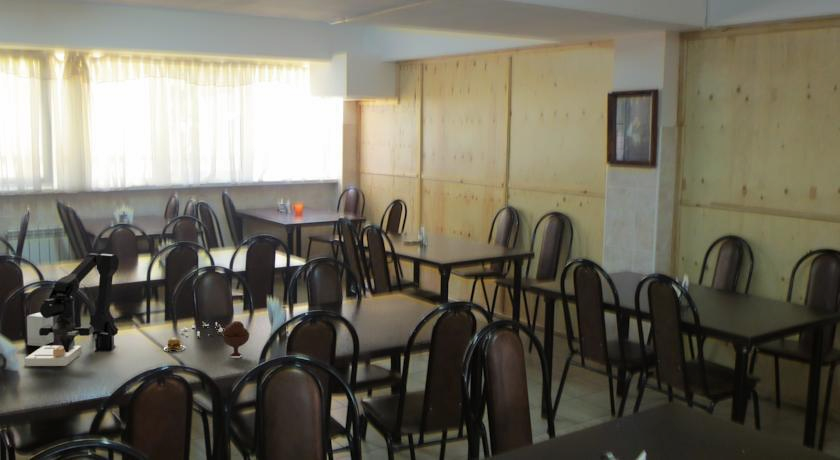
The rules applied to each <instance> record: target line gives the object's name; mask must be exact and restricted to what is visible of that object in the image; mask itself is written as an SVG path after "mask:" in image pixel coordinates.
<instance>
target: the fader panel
mask: <svg viewBox="0 0 840 460" xmlns="http://www.w3.org/2000/svg"><path fill="white" fill-rule="evenodd" d="M57 346H58V345H44V346H40V347H39V348H38V349H36V350H35V351H33V352H32V353H31V354H29V355H27V356H26V357H24V366H25V367H59V366H60V367H66V366H68V365H69V364H70V363H71V362H72V361H74V360H75V359H76V358H77V357H78V356H80V355H81V354H82V352H83V350H82V349H83V348H82V347H83V346H82V345H75V346H74V347H72V348H71V349H70V350H69V352H66V353H65V354H64V355H62V356H53V349H55V348H56V347H57Z"/></svg>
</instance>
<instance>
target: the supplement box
mask: <svg viewBox="0 0 840 460" xmlns="http://www.w3.org/2000/svg"><path fill="white" fill-rule="evenodd" d="M45 325H54V317H50V318H44V317H43V316H42V315H41V313H40V312H36V313H32V314H29V315H27V316H26V331H27V333H26V334H27V346H36V347H42V346H47V345H48V344H51V343H54V334H53V333H49V334H48V335H47V336H40V335H39V330H40V328H42V327H43V326H45Z"/></svg>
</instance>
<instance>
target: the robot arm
mask: <svg viewBox="0 0 840 460" xmlns="http://www.w3.org/2000/svg"><path fill="white" fill-rule="evenodd" d="M119 262H120V259H119V257H118V256H117V255H116V254H113V253H112V254H111V253H109V254H108V253H101V254H99V253H87V254H86V256H85V258H84V259H83V260H82V261H81V262H80V263H79V264H78V265H77V266H76V267H75V268H74V269H73V270H72V271H71V272H70V273H69V274H68V275H65V276H62V277H61V278H59V279H58V280H56V282H55V283H54V286H53V287H52V290H51V292H50V294H49V296H48V299H44V300H43V304H41V305H40V308H39V311H40V312H39V313H41V315H42V316H43V317H44V318H50V317H53V318H54V317H56V322H55V323H54V324H53V325H45V326H43V327H42V328H40V330H39V335H40V336H47V335H48V334H49V333H53V337H54V338H57V339H58V340H59V341H60V343H61V344H62V345H63V347H64V349H65V352H69V350H70V347H71V344H72V342H73V340H74V339H75V338H76V337H77V336H84V337H85V336H90V335H95V336H96V337H95V339H94V347H95V349H94V351H97V352H98V351H101V352H102V351H103V352H104V351H106V352H107V351H110V352H111V351H113V349H114V348H116V345H115V336H117V335H118V333H119V328H118V327H117V326H116V325H115V324H114V323H113V322H114V318H113V315H112V313H111V311H110V309H111V308H110V307H111V298H112V296H111V295H112V289H113V288H112V287H113V278H114V275H115V273H117V271H118V268H119V264H120V263H119ZM94 268H96V270H97V272H98V275H99V280H98V281H99V283H98V290H97V291H98V292H97V301H96V310H95V312H94V313H92V314H90V318H89V319H90V320H89V323H88V324H89V325H87V324H85V325H82V326H80V327H76V325H77V324H76V323H75V317H76V313H75V301H76V300H78V297H77V296H76V295H75V294H76V293H77V291H78V290H79V288H80V283H81V282H82V281H83V280H84V279H85V278H86V277H87V275H89V273H91V271H92V270H93V269H94ZM62 345H61V346H62Z"/></svg>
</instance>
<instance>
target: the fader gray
mask: <svg viewBox="0 0 840 460" xmlns="http://www.w3.org/2000/svg"><path fill="white" fill-rule="evenodd" d="M75 341H76V340H75V338H74V340H73V342H72V344H71V347H70V349H71V348H72V347H74V346H76V345H75V343H76V342H75ZM61 346H63V345H61Z"/></svg>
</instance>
